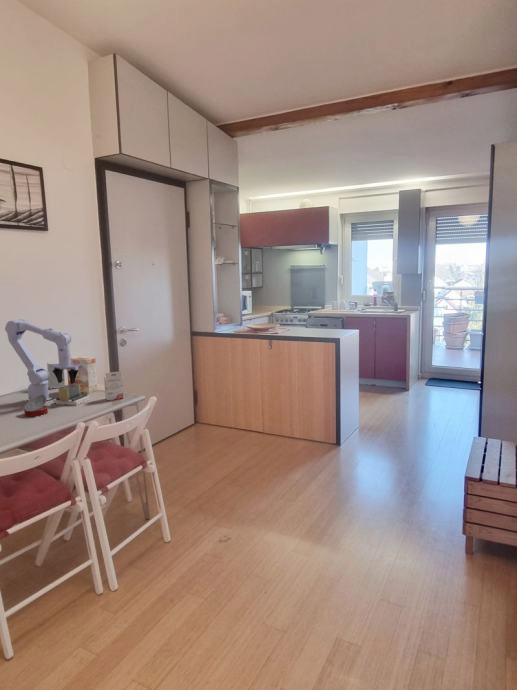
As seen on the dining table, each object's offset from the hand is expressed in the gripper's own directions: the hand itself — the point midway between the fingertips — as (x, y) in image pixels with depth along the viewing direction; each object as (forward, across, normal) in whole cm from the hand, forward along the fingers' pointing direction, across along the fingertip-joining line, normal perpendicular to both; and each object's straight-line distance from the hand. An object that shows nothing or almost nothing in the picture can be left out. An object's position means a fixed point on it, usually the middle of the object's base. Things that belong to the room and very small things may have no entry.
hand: (66, 383), depth 235 cm
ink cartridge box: (+10, +22, +9) cm, 26 cm away
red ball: (+10, +2, -24) cm, 26 cm away
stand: (+9, +4, -1) cm, 10 cm away
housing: (+7, +4, -3) cm, 9 cm away
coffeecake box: (+10, -5, +19) cm, 22 cm away
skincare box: (+10, -26, +23) cm, 36 cm away
